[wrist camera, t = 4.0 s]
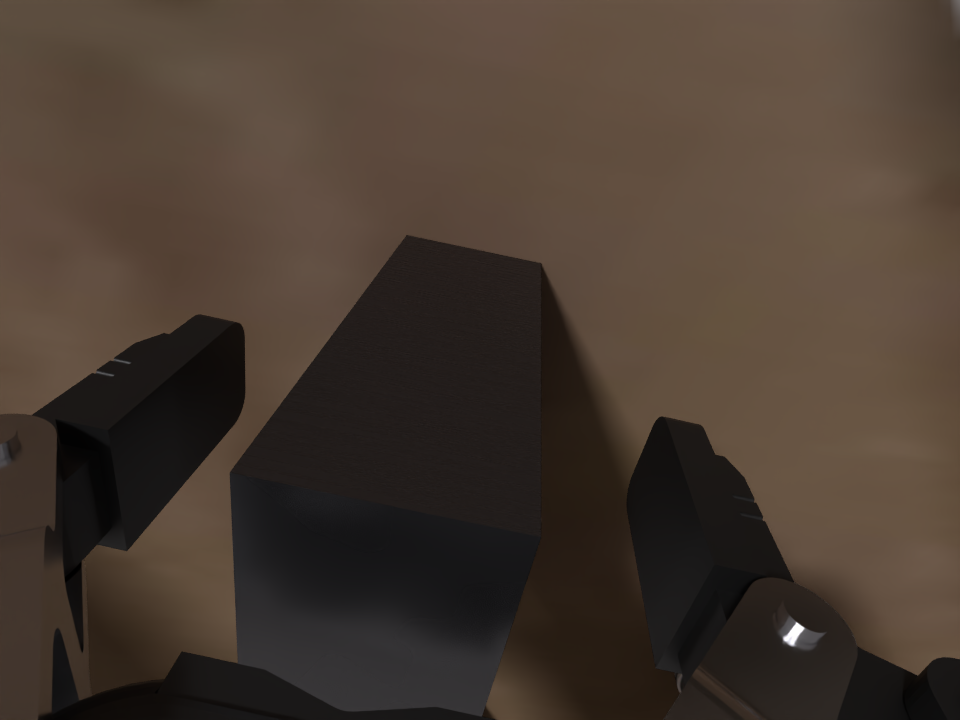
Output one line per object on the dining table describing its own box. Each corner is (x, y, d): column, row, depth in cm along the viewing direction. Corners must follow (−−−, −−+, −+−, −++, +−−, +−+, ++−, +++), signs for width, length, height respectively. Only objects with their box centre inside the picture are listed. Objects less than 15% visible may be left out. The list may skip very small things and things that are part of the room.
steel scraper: (339, 221, 12) (74, 440, 5) (608, 277, 12) (695, 569, 5) (310, 693, 21) (194, 1012, 14) (467, 725, 21) (431, 1060, 14)
